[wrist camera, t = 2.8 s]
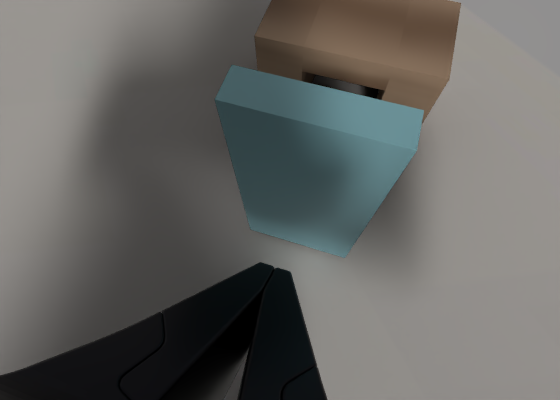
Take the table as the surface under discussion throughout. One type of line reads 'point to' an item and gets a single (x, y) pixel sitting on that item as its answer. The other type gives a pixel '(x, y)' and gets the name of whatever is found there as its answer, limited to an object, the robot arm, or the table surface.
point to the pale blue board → (312, 155)
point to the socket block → (363, 45)
